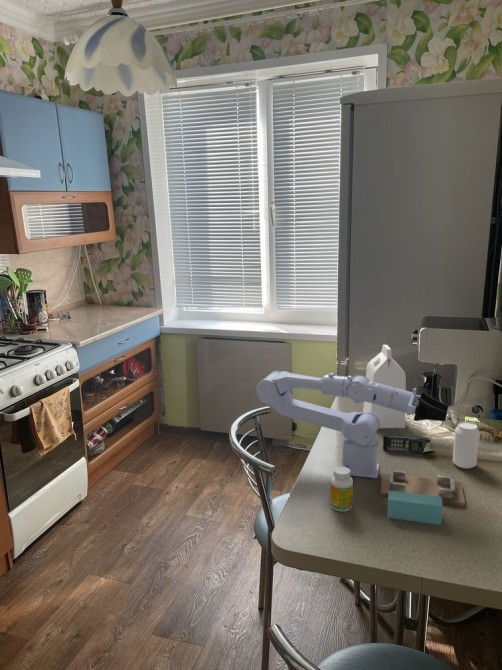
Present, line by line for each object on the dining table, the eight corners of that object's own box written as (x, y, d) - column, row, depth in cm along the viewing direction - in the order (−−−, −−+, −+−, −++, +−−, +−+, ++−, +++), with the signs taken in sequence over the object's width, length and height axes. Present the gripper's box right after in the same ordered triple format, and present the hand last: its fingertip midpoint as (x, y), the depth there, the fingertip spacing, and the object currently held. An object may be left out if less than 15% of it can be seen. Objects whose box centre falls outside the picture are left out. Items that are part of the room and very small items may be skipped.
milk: (405, 427, 170) (409, 351, 163) (370, 428, 170) (373, 352, 164) (395, 413, 182) (399, 342, 175) (362, 413, 182) (365, 342, 175)
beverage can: (478, 471, 142) (482, 430, 139) (454, 469, 143) (457, 429, 140) (473, 460, 148) (477, 421, 145) (450, 458, 149) (453, 420, 146)
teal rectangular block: (387, 518, 122) (388, 499, 121) (387, 508, 126) (388, 490, 124) (441, 525, 119) (442, 506, 118) (439, 515, 122) (441, 496, 121)
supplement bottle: (338, 514, 123) (339, 477, 121) (325, 503, 128) (326, 468, 126) (356, 508, 126) (358, 472, 123) (343, 497, 130) (344, 462, 128)
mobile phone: (383, 437, 153) (436, 439, 150) (383, 432, 156) (435, 435, 153) (383, 452, 154) (436, 455, 151) (382, 447, 157) (434, 450, 154)
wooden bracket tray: (380, 495, 131) (380, 485, 130) (381, 476, 140) (382, 466, 139) (464, 506, 125) (465, 495, 125) (460, 485, 135) (461, 475, 134)
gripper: (392, 388, 128) (449, 404, 123) (399, 379, 141) (451, 392, 136) (386, 415, 129) (442, 432, 124) (393, 403, 142) (445, 417, 137)
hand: (447, 413), depth 130 cm, fingers open, 7 cm apart
